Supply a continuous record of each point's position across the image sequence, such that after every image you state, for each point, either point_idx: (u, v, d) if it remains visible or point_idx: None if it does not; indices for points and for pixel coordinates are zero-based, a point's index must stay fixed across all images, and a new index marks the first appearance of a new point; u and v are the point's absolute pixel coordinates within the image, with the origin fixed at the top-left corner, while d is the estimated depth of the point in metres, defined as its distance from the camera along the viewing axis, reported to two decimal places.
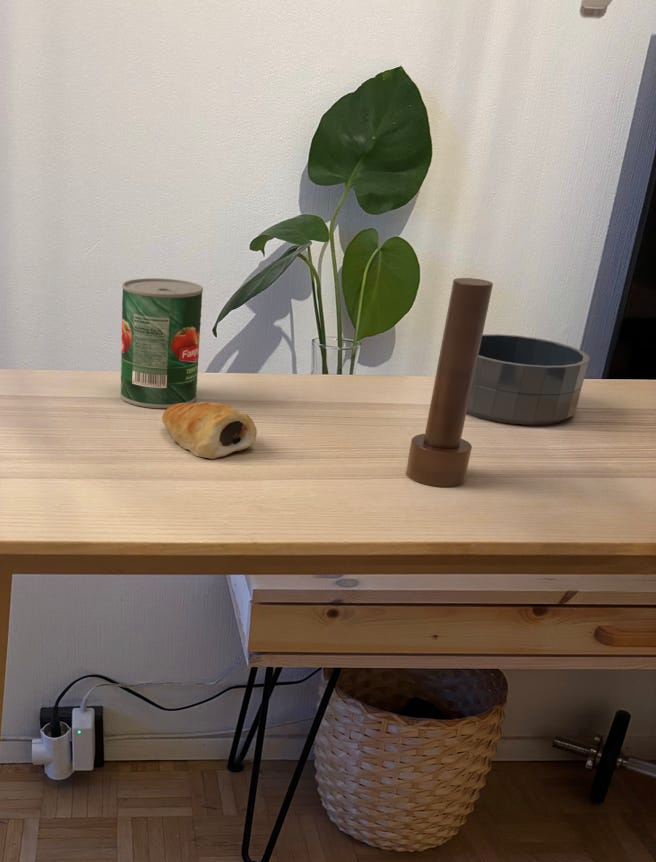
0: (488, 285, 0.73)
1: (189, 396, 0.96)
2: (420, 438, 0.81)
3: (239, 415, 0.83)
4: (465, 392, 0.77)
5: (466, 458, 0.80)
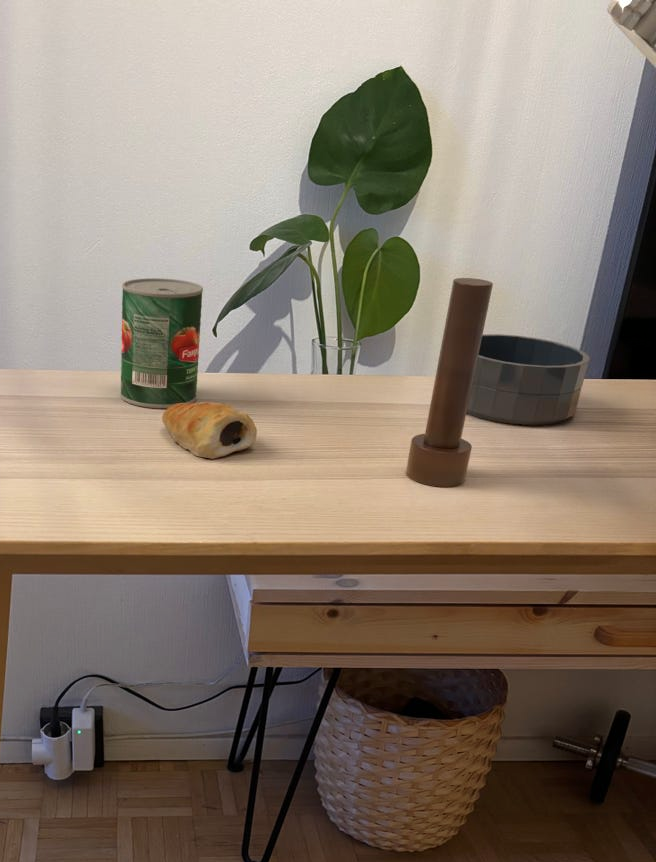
0: (488, 285, 0.73)
1: (189, 396, 0.96)
2: (420, 438, 0.81)
3: (239, 415, 0.83)
4: (465, 392, 0.77)
5: (466, 458, 0.80)
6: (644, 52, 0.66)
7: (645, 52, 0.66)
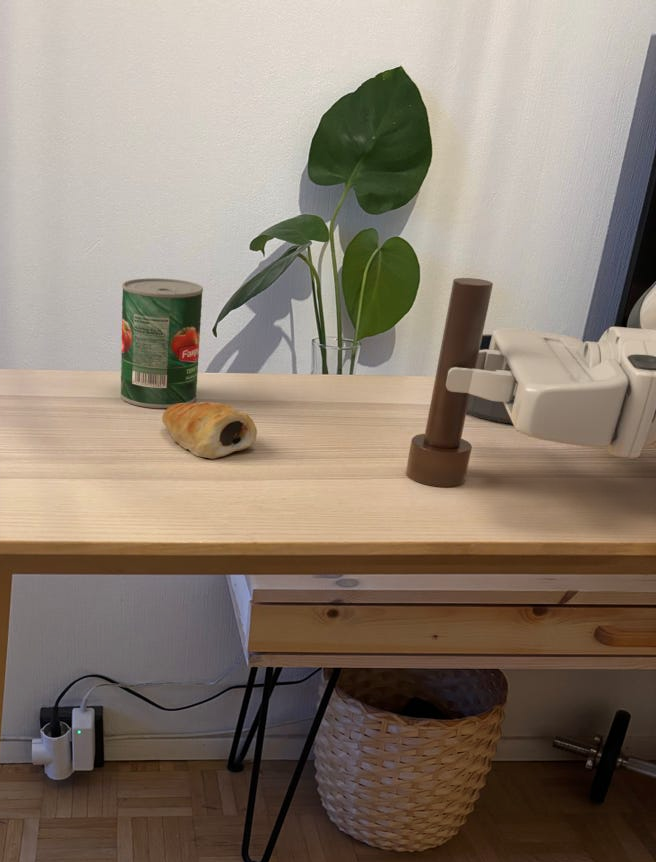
0: (488, 285, 0.73)
1: (189, 396, 0.96)
2: (420, 438, 0.81)
3: (239, 415, 0.83)
4: None
5: (466, 458, 0.80)
6: None
7: None
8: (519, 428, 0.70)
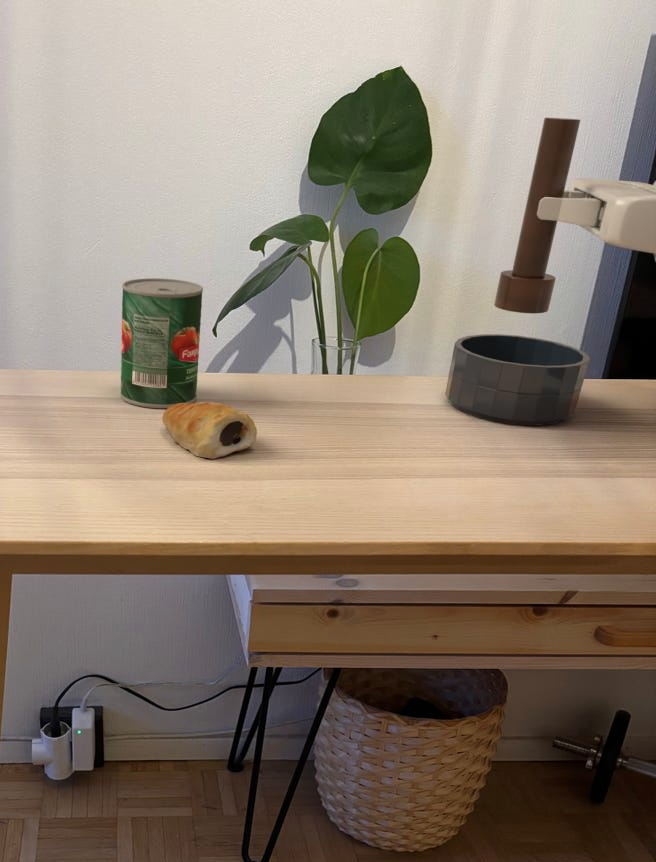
0: (577, 120, 0.83)
1: (189, 396, 0.96)
2: (508, 272, 0.91)
3: (239, 415, 0.83)
4: (552, 223, 0.87)
5: (551, 287, 0.89)
6: None
7: None
8: (609, 239, 0.79)
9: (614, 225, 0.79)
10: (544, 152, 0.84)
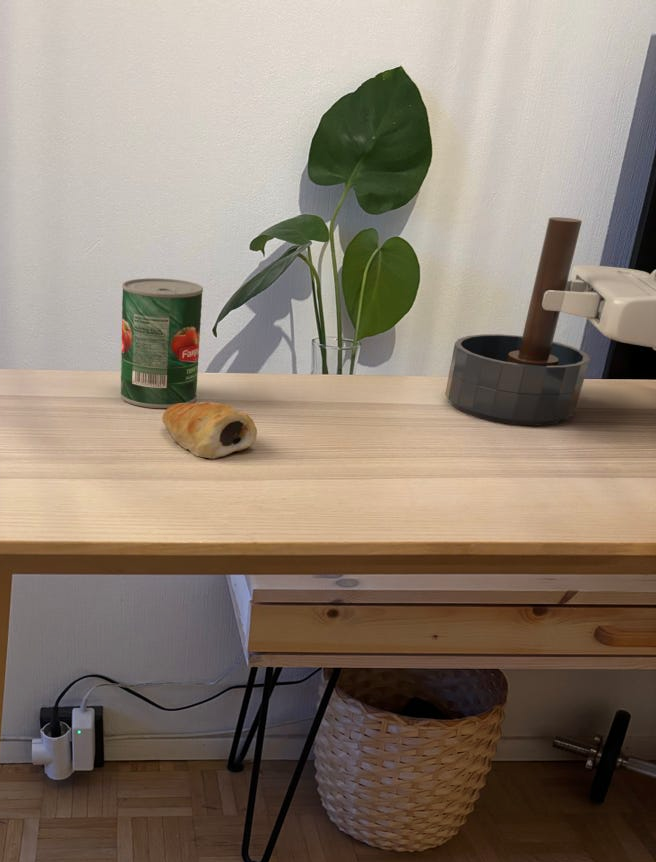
0: (578, 221, 0.91)
1: (189, 396, 0.96)
2: (515, 353, 0.99)
3: (239, 415, 0.83)
4: (556, 312, 0.95)
5: None
6: None
7: None
8: (607, 333, 0.87)
9: (612, 322, 0.86)
10: (548, 249, 0.92)
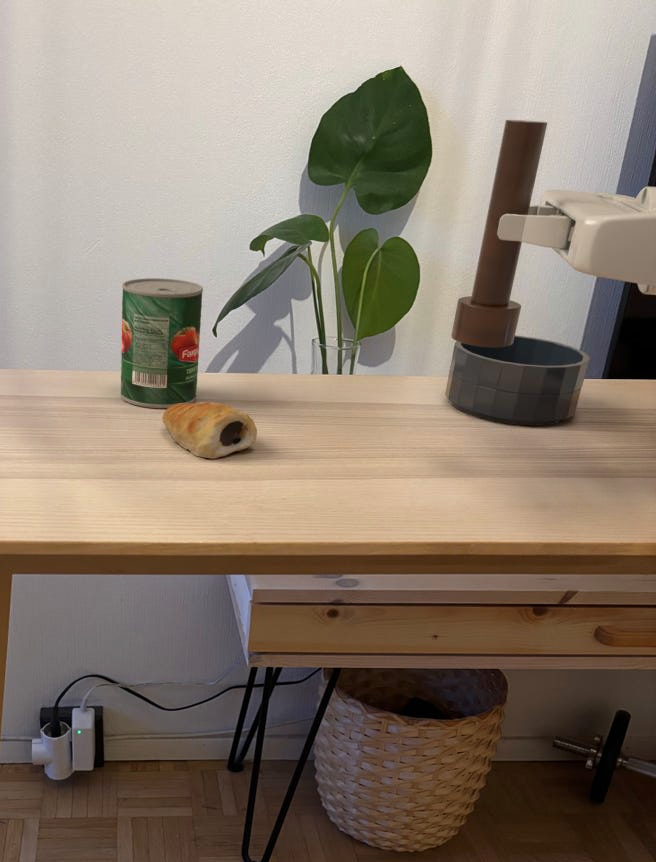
0: (543, 123, 0.70)
1: (189, 396, 0.96)
2: (467, 299, 0.78)
3: (239, 415, 0.83)
4: (516, 243, 0.74)
5: (516, 317, 0.77)
6: None
7: None
8: (577, 265, 0.67)
9: (583, 249, 0.66)
10: (505, 160, 0.72)
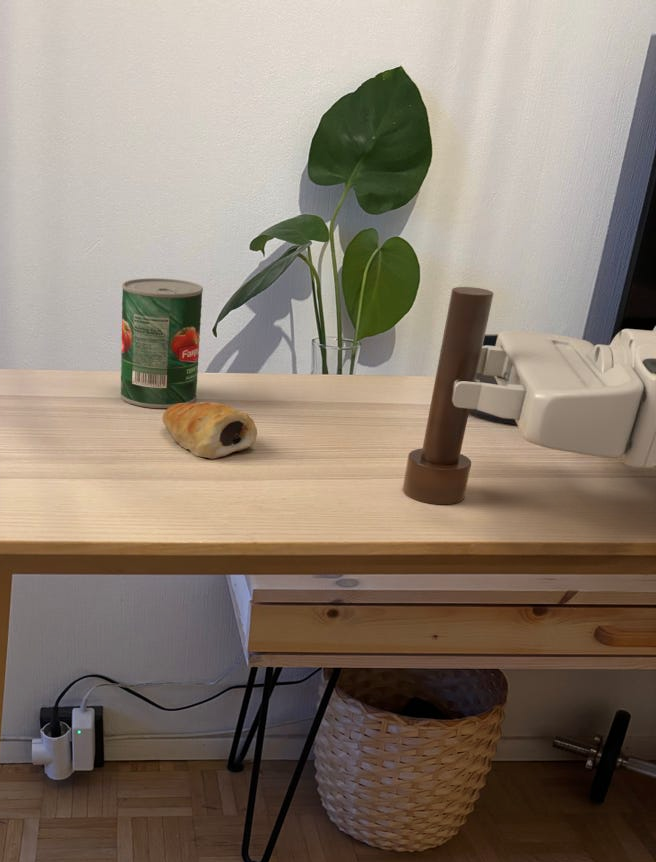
0: (488, 295, 0.70)
1: (189, 396, 0.96)
2: (417, 453, 0.78)
3: (239, 415, 0.83)
4: None
5: (466, 475, 0.76)
6: (498, 385, 0.78)
7: (498, 385, 0.78)
8: (527, 437, 0.66)
9: (533, 422, 0.65)
10: (452, 329, 0.71)
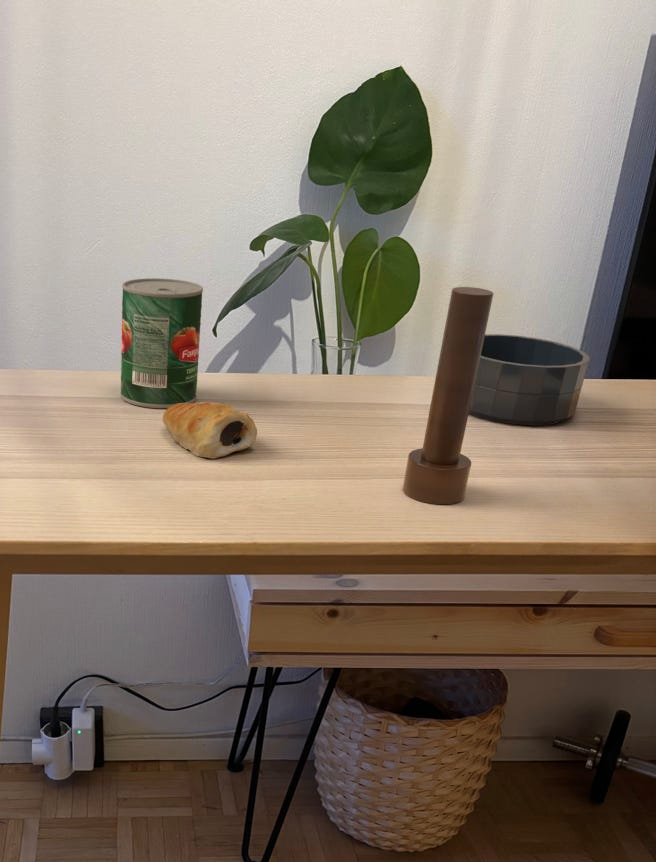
0: (488, 295, 0.70)
1: (189, 396, 0.96)
2: (417, 453, 0.78)
3: (239, 415, 0.83)
4: (464, 406, 0.74)
5: (466, 475, 0.76)
6: None
7: None
8: None
9: None
10: (452, 329, 0.71)
